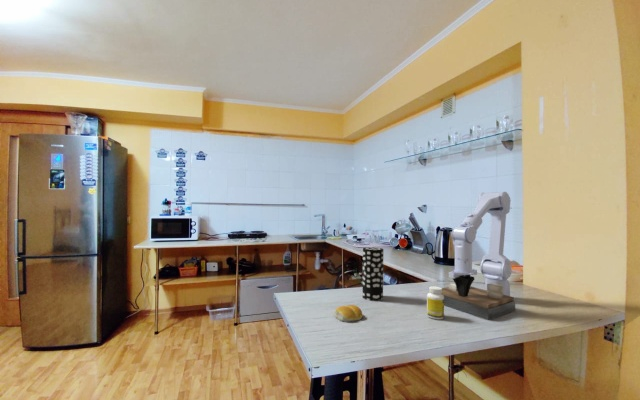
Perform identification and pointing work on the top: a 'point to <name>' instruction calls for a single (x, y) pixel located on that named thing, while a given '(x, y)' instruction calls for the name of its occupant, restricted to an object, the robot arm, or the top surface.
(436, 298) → the supplement bottle
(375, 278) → the spotted tube
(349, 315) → the bread roll
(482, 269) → the robot arm
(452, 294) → the plate
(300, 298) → the top surface
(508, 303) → the base
